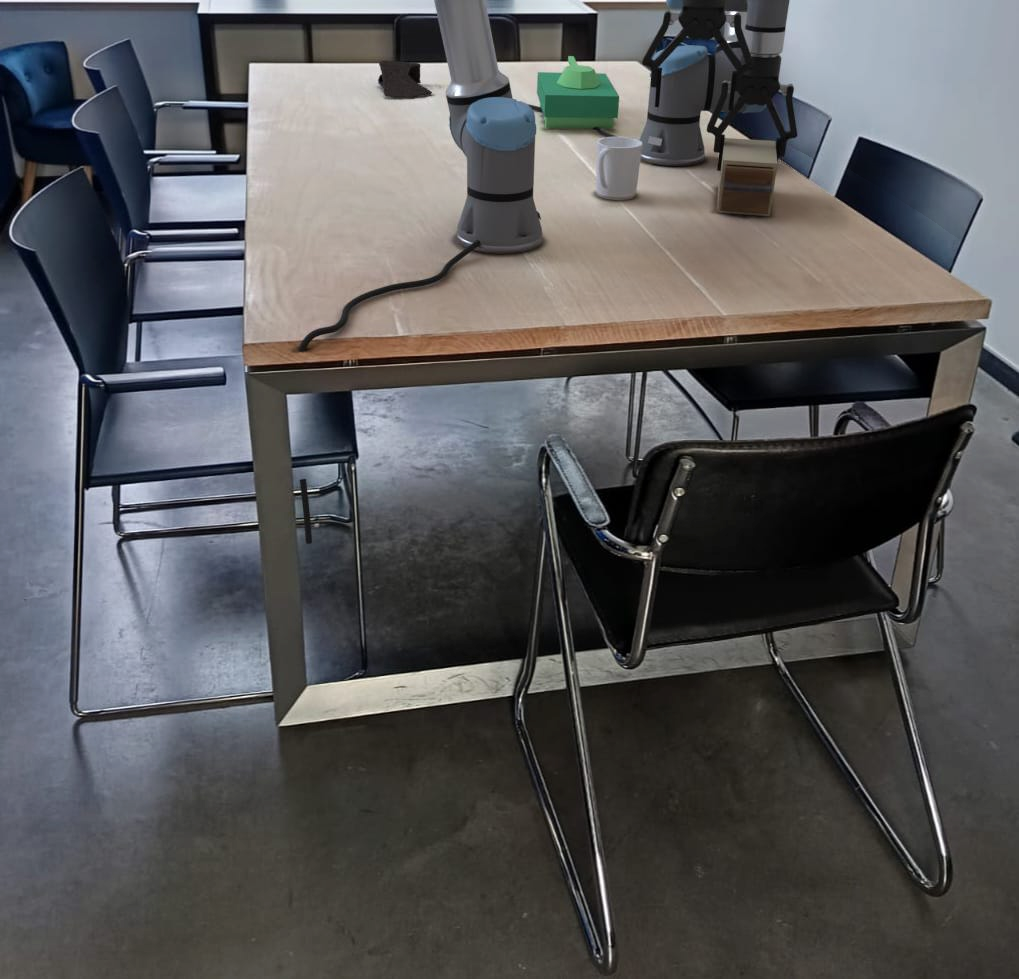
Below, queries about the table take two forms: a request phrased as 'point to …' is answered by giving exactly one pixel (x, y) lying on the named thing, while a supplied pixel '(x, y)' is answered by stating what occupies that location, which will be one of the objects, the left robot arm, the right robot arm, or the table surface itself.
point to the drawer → (747, 189)
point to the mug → (617, 167)
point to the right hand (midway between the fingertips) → (746, 170)
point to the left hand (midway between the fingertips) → (693, 107)
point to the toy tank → (577, 98)
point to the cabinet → (747, 162)
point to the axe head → (401, 79)
